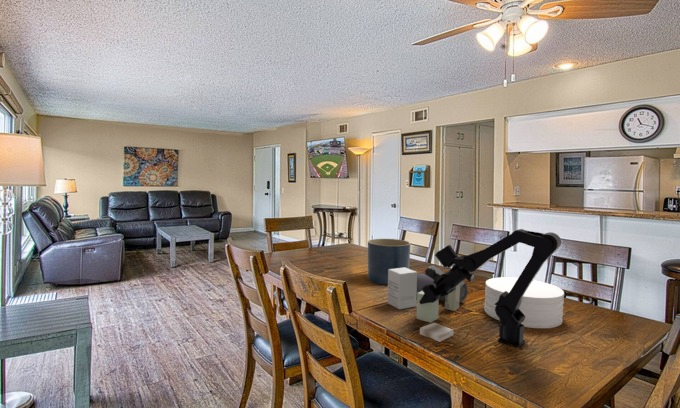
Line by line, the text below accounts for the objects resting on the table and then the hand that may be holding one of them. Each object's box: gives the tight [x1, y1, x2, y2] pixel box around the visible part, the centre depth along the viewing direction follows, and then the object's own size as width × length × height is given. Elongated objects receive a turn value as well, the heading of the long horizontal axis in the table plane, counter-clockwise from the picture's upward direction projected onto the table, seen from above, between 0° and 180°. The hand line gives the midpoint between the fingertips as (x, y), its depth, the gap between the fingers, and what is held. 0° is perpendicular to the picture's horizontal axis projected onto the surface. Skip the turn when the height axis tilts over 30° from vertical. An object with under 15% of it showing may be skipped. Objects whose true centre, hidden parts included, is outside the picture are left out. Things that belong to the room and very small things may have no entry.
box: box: [444, 284, 460, 312], centre depth 153 cm, size 5×4×13 cm
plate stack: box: [483, 276, 565, 329], centre depth 148 cm, size 28×28×12 cm
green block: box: [416, 291, 440, 324], centre depth 142 cm, size 6×6×10 cm
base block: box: [419, 322, 454, 343], centre depth 127 cm, size 8×8×2 cm
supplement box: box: [387, 267, 418, 310], centre depth 156 cm, size 9×9×15 cm
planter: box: [367, 238, 411, 286], centre depth 195 cm, size 22×22×20 cm
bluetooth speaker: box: [417, 273, 469, 303], centre depth 166 cm, size 23×9×10 cm, turn 50°
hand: (424, 300), depth 143 cm, fingers open, 7 cm apart
